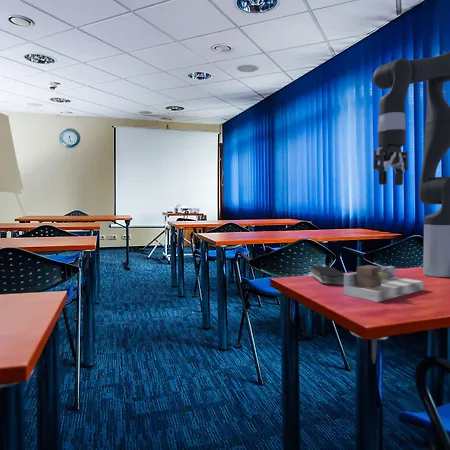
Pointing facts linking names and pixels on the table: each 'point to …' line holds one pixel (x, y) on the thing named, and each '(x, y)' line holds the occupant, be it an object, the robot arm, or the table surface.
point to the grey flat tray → (388, 287)
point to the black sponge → (327, 275)
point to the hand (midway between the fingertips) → (390, 184)
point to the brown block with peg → (370, 276)
